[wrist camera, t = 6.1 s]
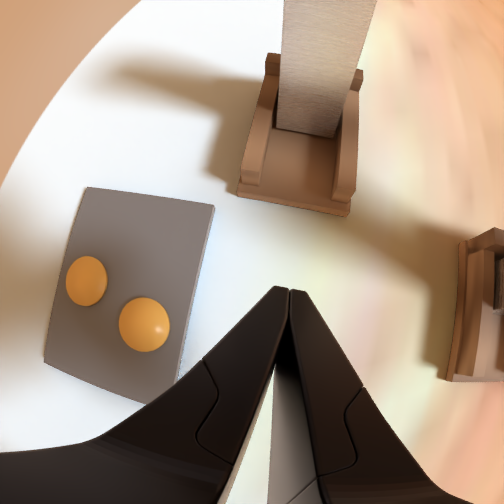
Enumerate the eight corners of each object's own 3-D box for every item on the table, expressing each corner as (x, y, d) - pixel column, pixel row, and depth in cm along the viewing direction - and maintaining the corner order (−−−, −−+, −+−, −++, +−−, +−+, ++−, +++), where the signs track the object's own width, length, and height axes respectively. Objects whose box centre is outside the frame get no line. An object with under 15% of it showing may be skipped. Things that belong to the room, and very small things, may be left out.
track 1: (346, 217, 18) (365, 190, 14) (237, 196, 19) (232, 165, 15) (353, 106, 20) (365, 71, 16) (264, 89, 21) (264, 52, 17)
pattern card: (171, 409, 16) (167, 412, 15) (48, 361, 16) (41, 362, 15) (215, 208, 18) (213, 203, 18) (91, 190, 19) (85, 184, 18)
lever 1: (332, 142, 18) (403, -96, 3) (275, 131, 18) (287, -119, 4) (335, 101, 19) (387, -105, 4) (283, 92, 19) (297, -122, 4)
